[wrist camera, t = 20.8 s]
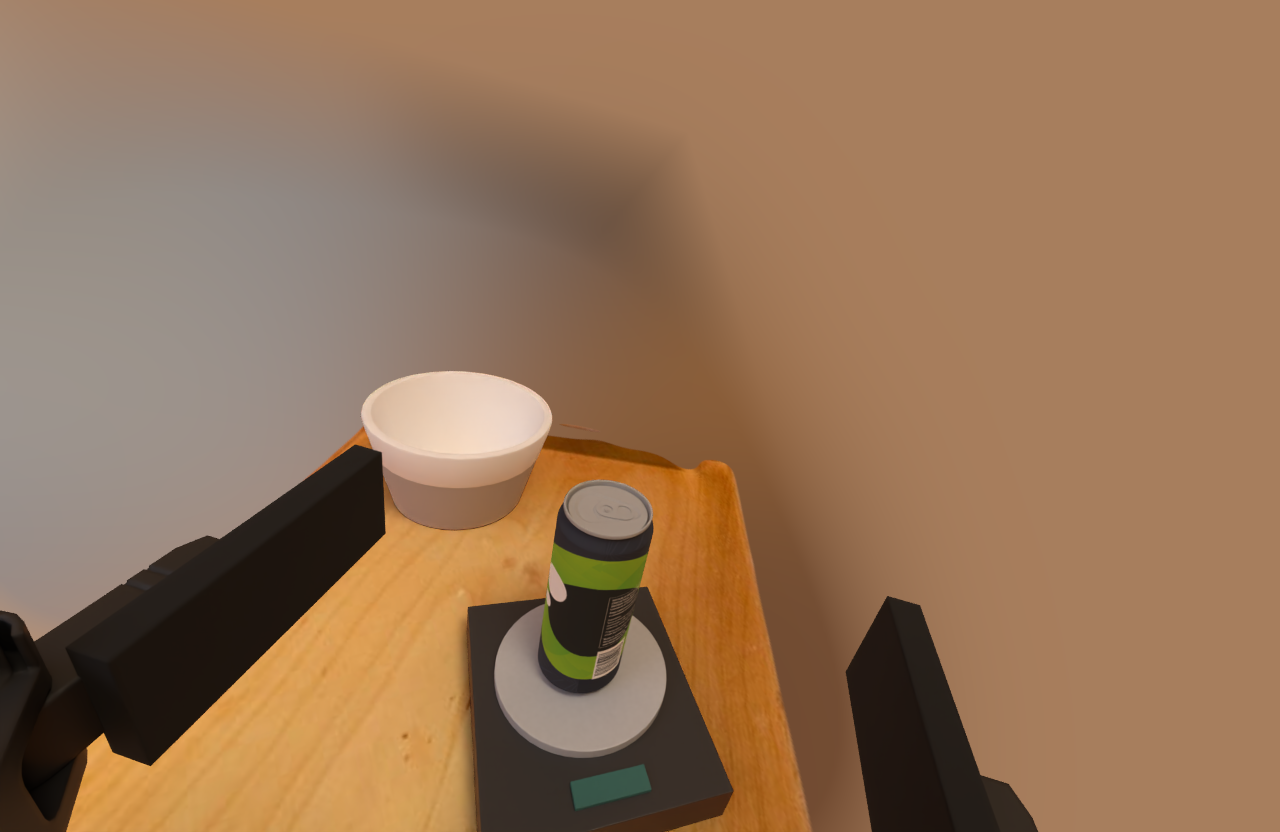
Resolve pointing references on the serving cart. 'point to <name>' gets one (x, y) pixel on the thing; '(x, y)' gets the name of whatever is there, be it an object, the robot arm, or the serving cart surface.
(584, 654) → the beverage can
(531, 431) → the bowl
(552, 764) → the scale
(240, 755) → the serving cart surface
